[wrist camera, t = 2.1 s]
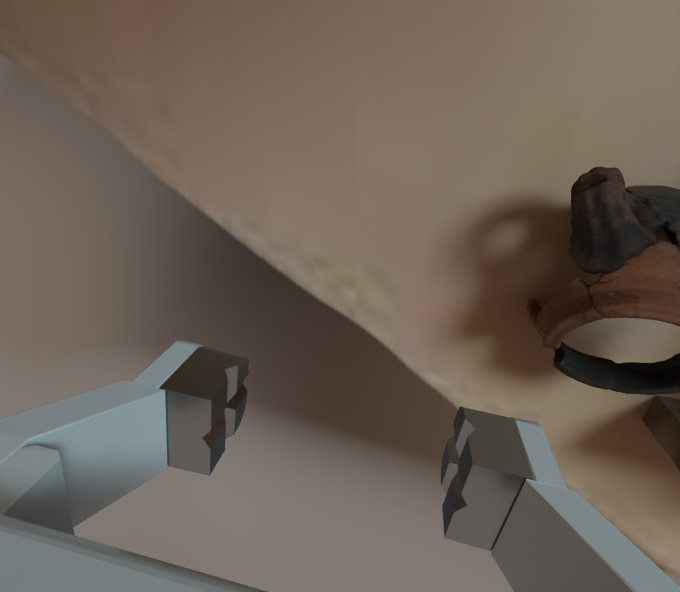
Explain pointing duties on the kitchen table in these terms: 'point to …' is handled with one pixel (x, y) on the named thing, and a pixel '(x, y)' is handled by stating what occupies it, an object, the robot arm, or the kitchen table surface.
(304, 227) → the kitchen table surface
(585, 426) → the kitchen table surface
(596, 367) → the pottery mug
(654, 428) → the stand
